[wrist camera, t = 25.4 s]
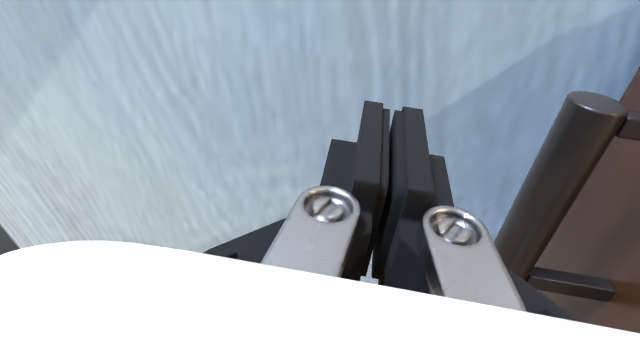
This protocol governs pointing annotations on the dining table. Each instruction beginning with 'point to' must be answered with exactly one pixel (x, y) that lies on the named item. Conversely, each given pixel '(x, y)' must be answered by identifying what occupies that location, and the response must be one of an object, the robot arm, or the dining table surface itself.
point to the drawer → (583, 212)
